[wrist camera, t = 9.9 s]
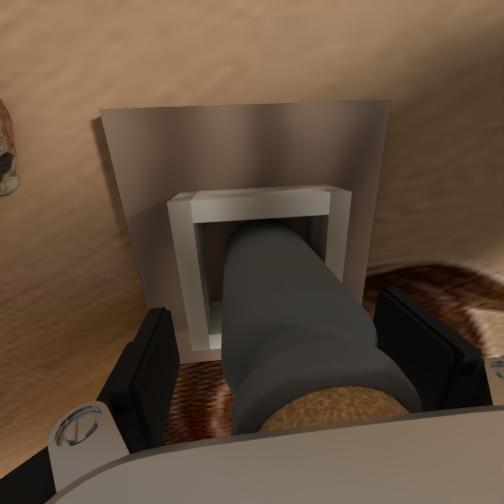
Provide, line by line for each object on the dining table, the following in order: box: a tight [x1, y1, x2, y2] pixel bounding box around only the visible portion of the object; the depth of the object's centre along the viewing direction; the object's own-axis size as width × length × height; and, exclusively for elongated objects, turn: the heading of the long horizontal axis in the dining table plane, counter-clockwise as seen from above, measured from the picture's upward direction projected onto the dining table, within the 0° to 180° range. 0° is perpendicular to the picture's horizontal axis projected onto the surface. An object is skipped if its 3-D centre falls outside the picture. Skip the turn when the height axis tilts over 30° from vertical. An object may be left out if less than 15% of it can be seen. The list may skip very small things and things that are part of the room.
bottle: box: [221, 218, 422, 436], centre depth 12 cm, size 6×6×15 cm
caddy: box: [99, 100, 391, 364], centre depth 17 cm, size 18×20×5 cm
